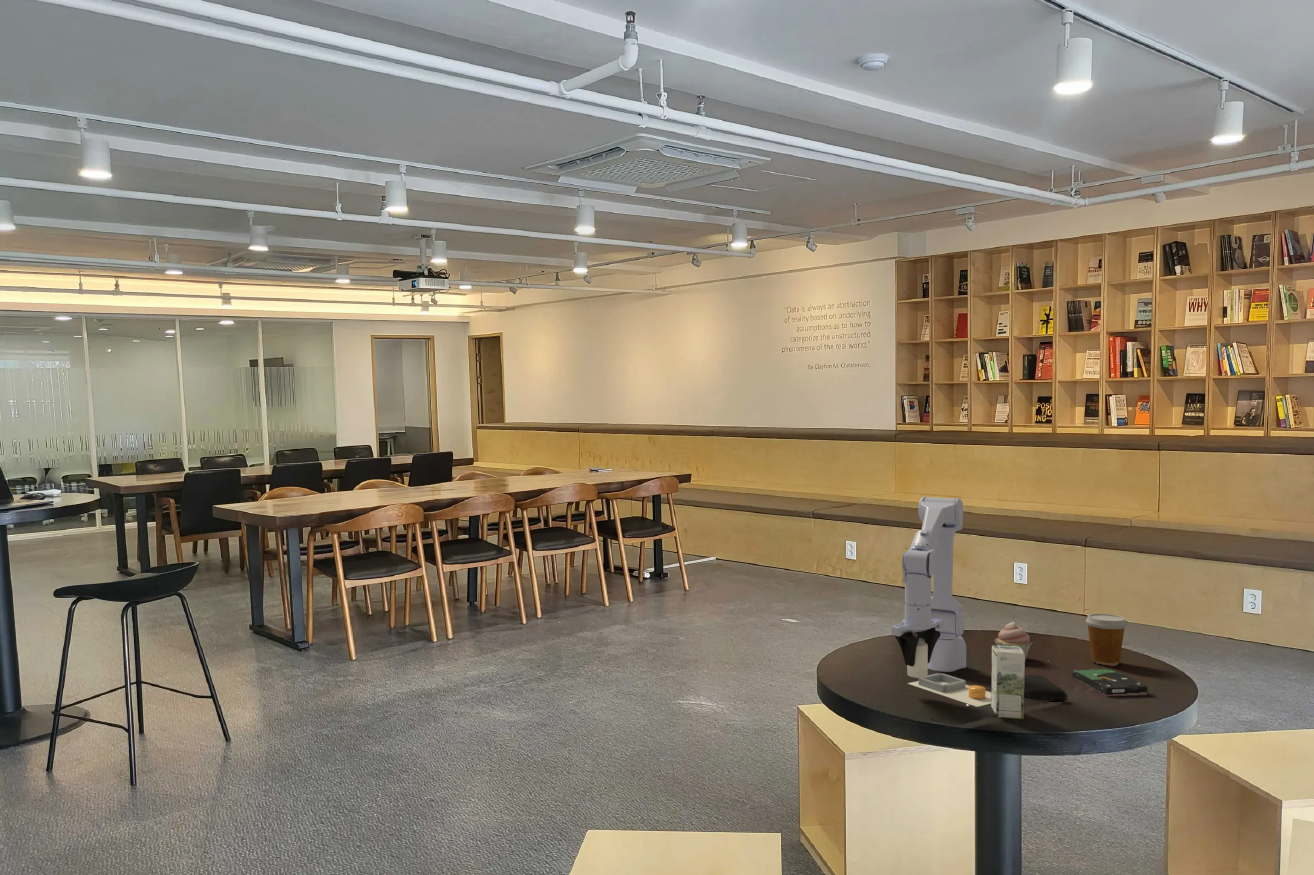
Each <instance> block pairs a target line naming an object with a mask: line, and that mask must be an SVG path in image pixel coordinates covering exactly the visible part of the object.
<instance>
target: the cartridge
mask: <svg viewBox="0 0 1314 875" xmlns="http://www.w3.org/2000/svg"><path fill="white" fill-rule="evenodd" d="M906 669H907V671H906V673H907V676H908V677H911V678H917V679H919V678H924V677H927V676H928V675H929V674H928V673H929V672H928V670H929V668H928V644H926V643H925V640H924V639H921V638H920V639H919V641H918V644H917V647H916V653H915V664H914V666H908V665H906Z"/></svg>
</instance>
